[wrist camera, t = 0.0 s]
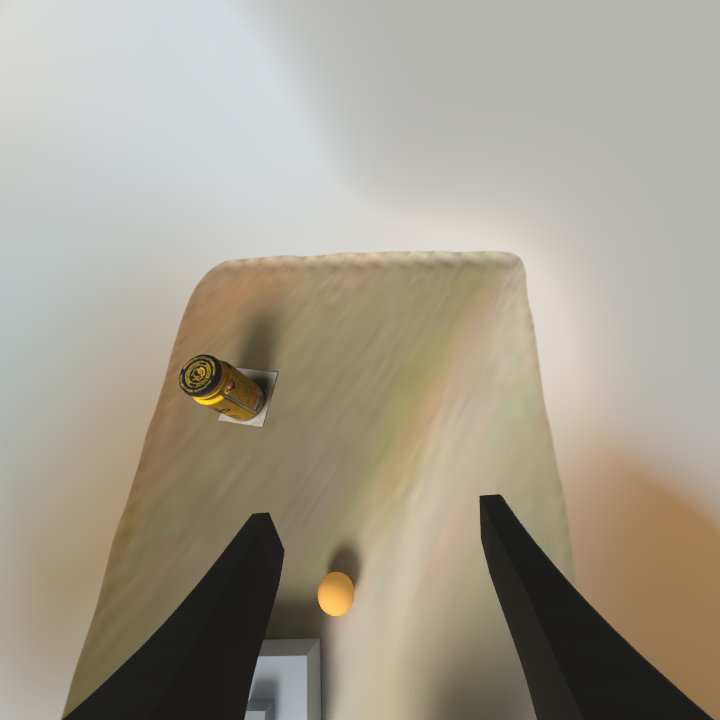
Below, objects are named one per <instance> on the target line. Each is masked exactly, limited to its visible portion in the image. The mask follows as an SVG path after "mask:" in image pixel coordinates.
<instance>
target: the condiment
mask: <svg viewBox="0 0 720 720" xmlns="http://www.w3.org/2000/svg"><path fill="white" fill-rule="evenodd" d="M277 373H278V372H268V371H259V370H251V369H243V368H234V367H233V366H232V365H230V364H229V363H227V362H225V361H220V360H218V359H216V358H215V357H213V356H210V355H198V356H196V357H194V358H192V359H191V360H189V361H188V362H187V363H186V365H185V366H184V367H183V369H182V370H181V373H180V377H179V381H180V387H181V388H182V390H183V391H184V392H185V393H187V394H188V395H190V396H192V397H193V398H194V399H195V400H196V401H197V402H198V403H200V404H202V405H204V406H207V407H208V408H211V409H213V410H215V411H217V412H220V413H221V415H220V417H219V419H218V420H222V421H228V422H233V423H240V424H246V425H253V426H259V427H262V426H263V423H264V419H265V416H266V412H267V410H268V406H269V403H270V399H271V394H272V391H273V388H274V385H275V380H276V377H277ZM265 390H266V392H265Z"/></svg>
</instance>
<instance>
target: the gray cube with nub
mask: <svg viewBox="0 0 720 720" xmlns="http://www.w3.org/2000/svg"><path fill="white" fill-rule="evenodd" d="M244 720H321V666H320V638H311V639H274V640H263V643H262V646H261V650H260V653H259V657H258V660H257V664H256V668H255V672H254V676H253V680H252V685H251V689H250V694H249V699H248V704H247V709H246V714H245V719H244Z"/></svg>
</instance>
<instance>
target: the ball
mask: <svg viewBox="0 0 720 720" xmlns="http://www.w3.org/2000/svg"><path fill="white" fill-rule="evenodd" d="M353 599H354V587H353V584H352V581H351V580H350V578H349V577H348V576H347V575H345V574H344V573H341V572H332V573H330V574H328V575H326V576H325V577H324V578H323V580H322V581H321V583H320V585H319V589H318V601H319V604H320V606H321V608H322V609H323V611H324V612H326V613H327V614H329V615H331V616H339V615H342V614H344V613H345V612H346V611H347V610H348V609H349V608H350V606H351V605H352V602H353Z"/></svg>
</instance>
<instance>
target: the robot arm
mask: <svg viewBox="0 0 720 720" xmlns="http://www.w3.org/2000/svg"><path fill="white" fill-rule="evenodd" d="M480 524H481V540H482V544H483V548H484V553H485V557H486V561H487V564H488V568H489V572H490V575H491V578H492V581H493V584H494V587H495V590H496V593H497V595H498V598H499V601H500V604H501V607H502V610H503V612H504V615H505V618H506V621H507V624H508V627H509V629H510V632H511V635H512V638H513V641H514V644H515V646H516V649H517V652H518V655H519V658H520V661H521V664H522V667H523V670H524V674H525V677H526V680H527V684H528V687H529V691H530V695H531V698H532V702H533V706H534V709H535V713H536V716H537V720H714V719H712V718H711V717H710V716H709V715H707V713H705V712H704V711H703V710H702V709H701V708H700V707H698V706H697V705H696V704H695V703H694V702H693V701H691V700H690V699H689V698H688V697H687V696H686V695H685V694H684V693H682V692H681V691H680V690H679V689H678V688H677V687H676V686H675V685H674V684H673V683H671V682H670V681H669V680H668V679H667V678H666V677H665V676H664V675H663V674H661V673H660V672H659V671H658V670H657V669H656V668H655V667H654V666H653V665H651V664H650V663H649V662H648V661H647V660H646V659H645V658H644V657H643V656H641V655H640V654H639V653H638V652H637V651H636V650H635V649H634V648H633V647H632V646H631V645H630V644H629V643H628V642H627V641H626V640H625V639H624V638H623V637H622V636H621V635H620V634H619V633H617V632H616V631H615V630H614V629H613V628H612V627H611V626H610V624H609V623H607V621H606V620H605V619H603V617H602V616H601V615H600V614H599V613H598V612H597V611H596V610H595V609H594V608H593V607H592V606H591V605H590V604H589V603H588V602H587V601H586V600H585V599H584V598H583V597H582V596H581V594H580V593H579V592H578V591H577V590H576V589H575V588H574V587H573V586H572V585H571V583H570V582H569V581H568V580H567V579H566V578H565V577H564V576H563V575H562V573H561V572H560V571H559V570H558V569H557V568H556V566H555V565H554V564H553V563H552V562H551V561H550V559H549V558H548V557H547V556H546V554H545V553H544V552H543V551H542V550H541V548H540V547H539V546H538V545H537V544H536V542H535V541H534V540H533V538H532V537H531V536H530V535H529V533H528V532H527V531H526V529H525V528H524V527H523V525H522V524H521V523H520V521H519V520H518V519H517V517H516V516H515V515H514V513H513V512H512V510H511V509H510V507H509V506H508V504H507V503H506V501H505V500H504V498H503V497H502V496H501V495H499V494H497V495H484V496H480ZM283 558H284V548H283V546H282V543H281V541H280V538H279V536H278V534H277V531H276V529H275V526H274V524H273V521H272V519H271V517H270V514H269V513H256V514H252V515H251V516H250V518H249V519H248V520H247V522H246V523H245V524H244V525H243V527H242V528H241V529H240V531H239V532H238V533H237V535H236V536H235V537H234V539H233V540H232V541H231V543H230V544H229V545H228V547H227V548H226V549H225V550H224V552H223V553H222V554H221V556H220V557H219V558H218V559H217V561H216V562H215V563H214V565H213V566H212V567H211V568H210V570H209V571H208V572H207V573H206V575H205V576H204V577H203V578H202V580H201V581H200V582H199V583H198V584H197V586H196V587H195V588H194V589H193V590H192V592H191V593H190V594H189V595H188V596H187V597H186V599H185V600H184V601H183V602H182V603H181V605H180V606H179V607H178V608H177V609H176V610H175V611H174V613H173V614H172V615H171V616H170V617H169V618H168V619H167V620H166V621H165V623H164V624H163V625H162V626H161V627H160V628H159V629H158V630H157V631H156V632H155V633H154V634H153V635H152V636H151V637H150V638H149V640H148V641H147V642H146V643H145V644H144V645H143V646H142V647H141V648H140V649H139V650H138V651H137V652H136V653H135V654H134V655H132V656H131V657H130V658H129V659H128V660H127V661H126V662H125V663H124V664H123V665H122V666H121V667H120V668H119V669H118V670H117V671H116V672H115V673H114V674H113V675H112V676H111V677H110V678H109V679H108V680H107V681H106V682H104V683H103V684H102V685H101V686H100V687H99V688H98V689H97V690H96V691H95V692H93V693H92V694H91V695H90V696H89V697H88V698H87V699H86V700H85V701H83V702H82V703H81V704H80V705H79V706H78V707H77V708H75V709H74V710H73V711H72V712H71V713H70V714H69V715H67V716H66V717H65V718H64V719H63V720H244V719H245V714H246V709H247V704H248V699H249V694H250V689H251V685H252V680H253V676H254V672H255V668H256V664H257V660H258V657H259V653H260V650H261V646H262V643H263V639H264V636H265V632H266V629H267V625H268V622H269V618H270V615H271V611H272V608H273V604H274V600H275V597H276V593H277V590H278V586H279V581H280V576H281V570H282V564H283Z"/></svg>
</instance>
